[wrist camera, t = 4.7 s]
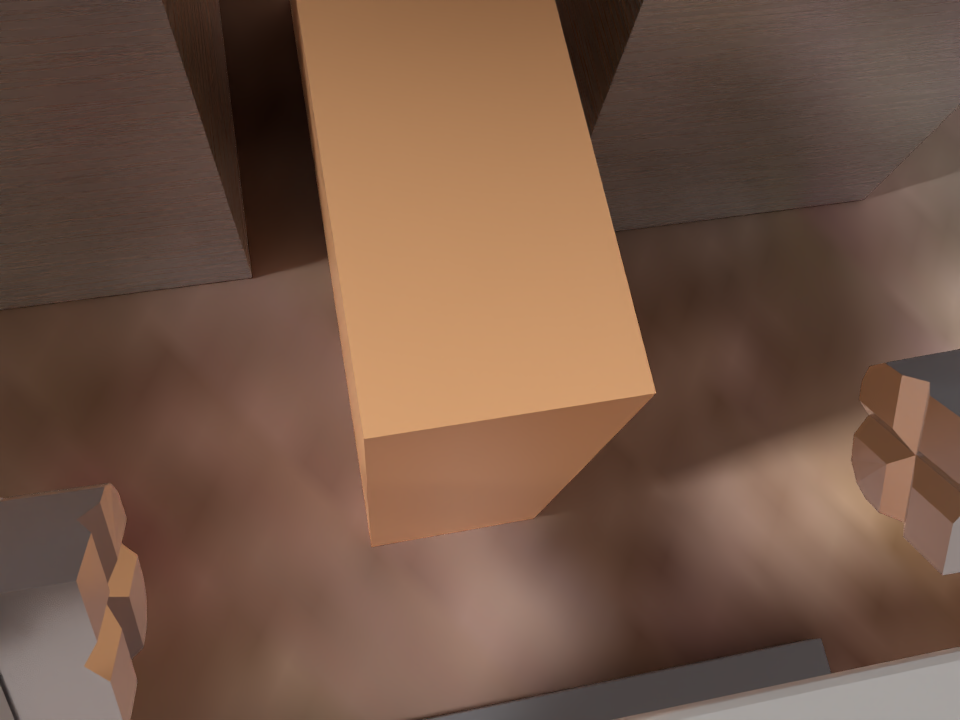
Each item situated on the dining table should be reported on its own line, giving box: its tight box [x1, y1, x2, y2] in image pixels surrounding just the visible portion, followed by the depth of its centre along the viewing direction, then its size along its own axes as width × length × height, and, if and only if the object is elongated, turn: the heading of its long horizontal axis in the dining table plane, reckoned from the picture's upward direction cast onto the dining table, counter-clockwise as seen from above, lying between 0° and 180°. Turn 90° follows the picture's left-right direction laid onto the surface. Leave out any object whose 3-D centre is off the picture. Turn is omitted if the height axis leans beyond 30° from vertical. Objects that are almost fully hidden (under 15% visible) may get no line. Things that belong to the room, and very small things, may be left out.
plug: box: [290, 0, 656, 547], centre depth 15 cm, size 12×3×8 cm, turn 11°
